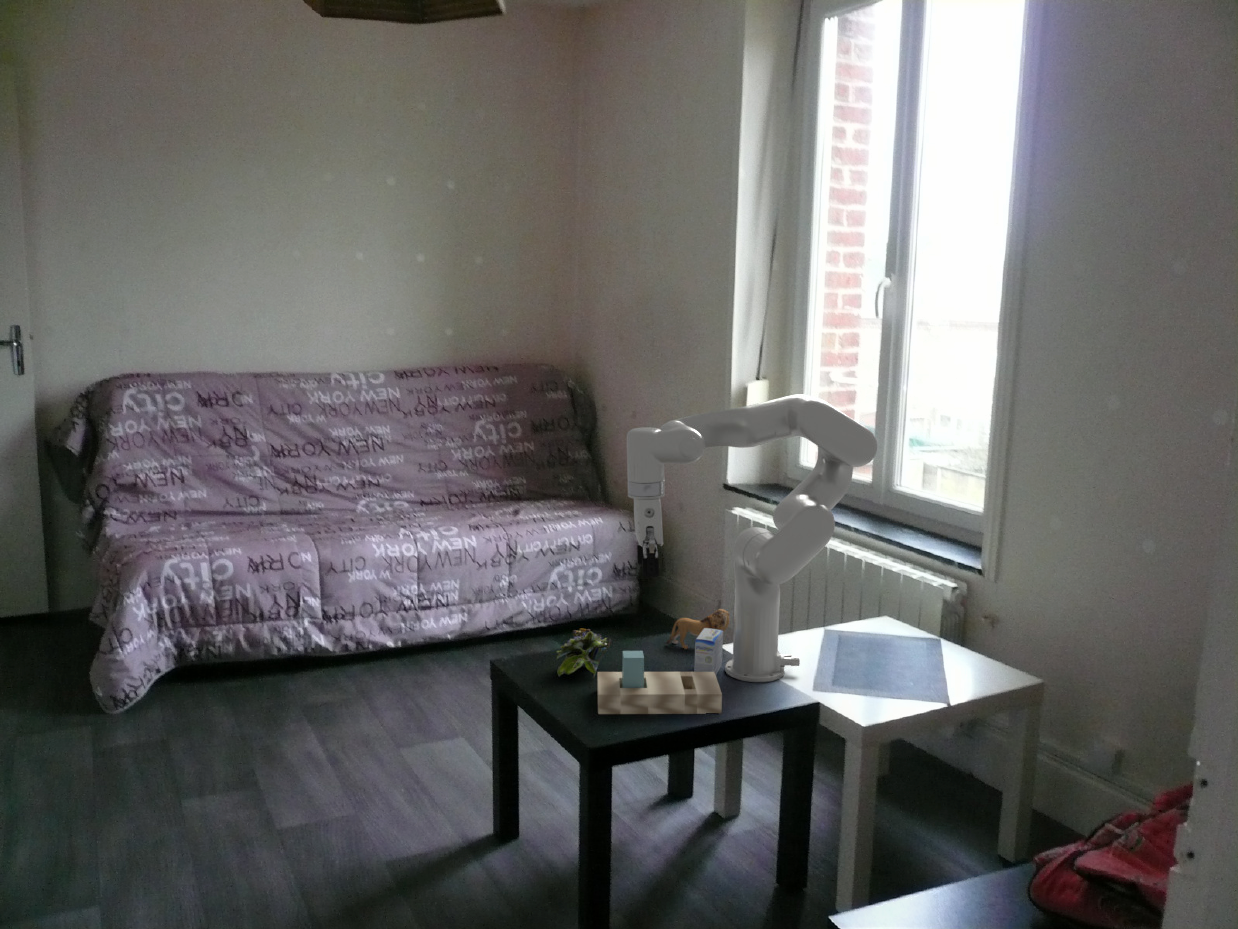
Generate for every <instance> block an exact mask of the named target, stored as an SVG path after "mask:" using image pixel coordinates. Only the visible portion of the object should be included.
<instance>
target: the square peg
mask: <svg viewBox="0 0 1238 929" xmlns="http://www.w3.org/2000/svg"><path fill="white" fill-rule="evenodd" d="M621 656H622V662H621V664H622V665H621V666H622V671H621V672H622V688H644V672H645V656H644V651H643V650H622V655H621Z"/></svg>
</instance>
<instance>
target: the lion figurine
mask: <svg viewBox="0 0 1238 929" xmlns="http://www.w3.org/2000/svg"><path fill="white" fill-rule="evenodd" d="M730 622H731V621H730V612H729V611H727V610H725V609H723V608H719V609H716V610H715V611H714V612H713V613H712V614H710V615H708V616H705V617H704V618H703V619H701V620H697V619H692V618H689V617H681V618H679V619H677V620H676V621H675V622H674V624H673V626H672V630H671V634H670V637H669V639H668V640H667V641H666V642H665V643H664V645H669V644H670V643H673V644H676V645H678V644H679V643H680V645H681V647H682V649H683V648H684V650H688V648H689V646H688V645H686V644H685V639H686V636H687V634H688V633H690V634H691V635H693V636H695V637H698V636H699V634H700V633H701V632H702V630H703V629H704V628H710V629H717V630H722V631H723V632H725V631H726V630H727V629H728V627H729V625H730ZM676 628H677V630H676ZM678 637H680V639H679V640H677V638H678Z"/></svg>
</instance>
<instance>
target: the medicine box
mask: <svg viewBox="0 0 1238 929" xmlns="http://www.w3.org/2000/svg"><path fill="white" fill-rule="evenodd" d="M694 640H695V642H694V668H693V670H694V671H693V672H715V675H716V676H717V675H718V673H719V671H720V670H721V668H722V666H723V664H722V663H723V645H724V631H722V630H717V629H710V628H704V629H703V630H702V632H701V633H700V634H699V636H696V639H694Z"/></svg>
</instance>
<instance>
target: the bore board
mask: <svg viewBox="0 0 1238 929" xmlns="http://www.w3.org/2000/svg"><path fill="white" fill-rule="evenodd" d="M596 678H597V679H596V680H597V681H596V682H597V687H596V688H597V689H596V690H597V713H598V715H673V714H674V715H682V714H683V715H690V714H691V715H694V714H698V715H699V714H700V715H701V714H702V715H703V714H705V715H706V713H719V714H720V715H721V714H722V710H723V708H722V704H723V693H722V690H721V687H720V684H719V682H718V678H717V675H715V672H694V671H644V688H622V671H597V677H596ZM719 714H718V715H719Z"/></svg>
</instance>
